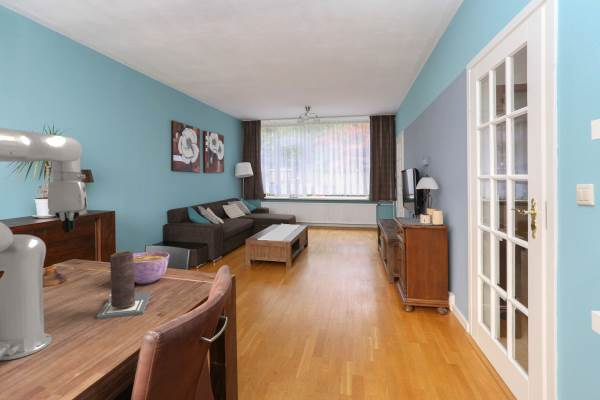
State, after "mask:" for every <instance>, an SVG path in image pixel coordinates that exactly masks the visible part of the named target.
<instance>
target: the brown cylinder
mask: <svg viewBox="0 0 600 400" xmlns="http://www.w3.org/2000/svg"><path fill="white" fill-rule="evenodd" d="M133 254H134V251H133V250H132V251H131V250H129V251H128V250H126V251H117V252H114V253H113V254H111V255H110V256H109V258H110V259H109V263H110V294H111V304H112V307H115V308H123V307H130V306H134V305H135V293H136V291H135V282H134V265H133Z"/></svg>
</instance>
